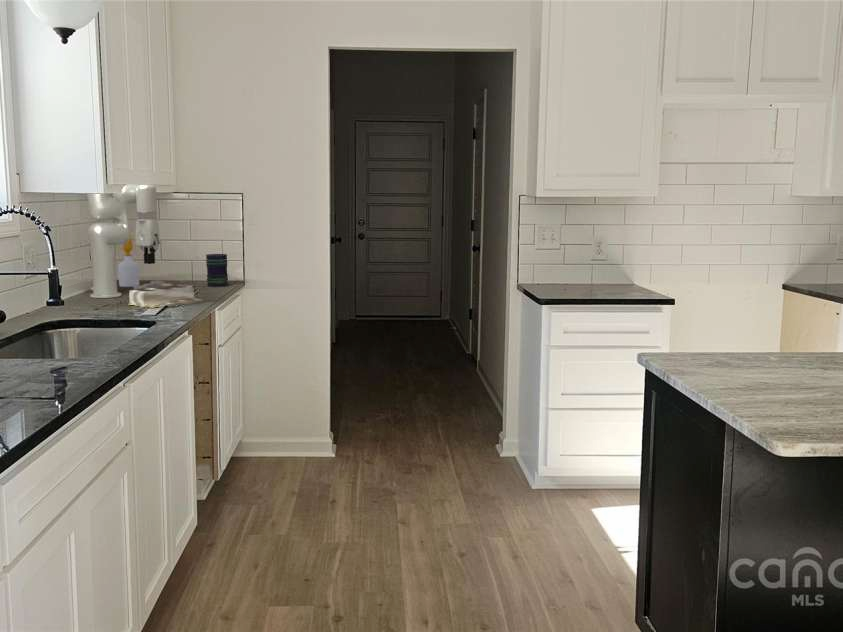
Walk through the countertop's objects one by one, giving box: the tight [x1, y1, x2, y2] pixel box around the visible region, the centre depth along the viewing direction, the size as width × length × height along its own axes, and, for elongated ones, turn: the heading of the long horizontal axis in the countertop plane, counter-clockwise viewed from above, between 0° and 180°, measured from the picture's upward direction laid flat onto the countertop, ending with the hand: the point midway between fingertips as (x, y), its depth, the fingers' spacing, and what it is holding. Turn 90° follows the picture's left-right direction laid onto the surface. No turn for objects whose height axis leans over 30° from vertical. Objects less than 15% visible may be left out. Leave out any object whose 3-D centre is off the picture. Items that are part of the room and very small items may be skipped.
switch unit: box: [128, 284, 204, 309], centre depth 348 cm, size 15×25×6 cm, turn 142°
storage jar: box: [205, 253, 229, 288], centre depth 408 cm, size 10×10×15 cm
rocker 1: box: [132, 283, 157, 290], centre depth 342 cm, size 9×4×1 cm, turn 52°
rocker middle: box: [149, 279, 174, 289], centre depth 348 cm, size 9×4×1 cm, turn 52°
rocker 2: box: [167, 279, 190, 286], centre depth 355 cm, size 9×4×1 cm, turn 52°
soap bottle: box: [117, 235, 140, 288], centre depth 407 cm, size 9×9×25 cm
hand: (149, 263), depth 338 cm, fingers closed
